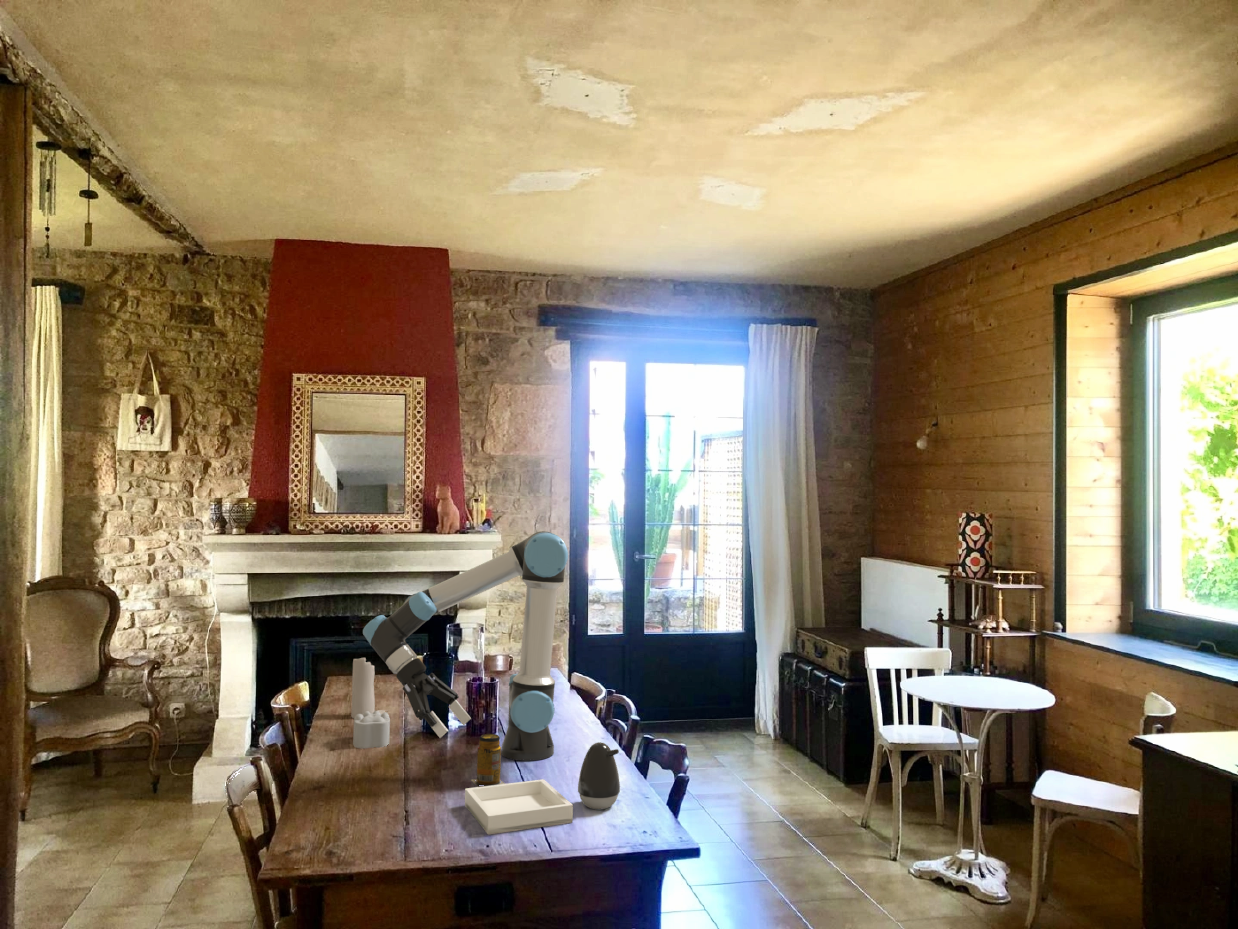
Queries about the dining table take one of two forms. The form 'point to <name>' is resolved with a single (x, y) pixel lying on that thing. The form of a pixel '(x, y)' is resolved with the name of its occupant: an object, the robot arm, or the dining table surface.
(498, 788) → the tray
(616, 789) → the pump dispenser
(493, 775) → the condiment
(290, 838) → the dining table surface
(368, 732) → the lumpy-topped squat cylinder
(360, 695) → the candle
